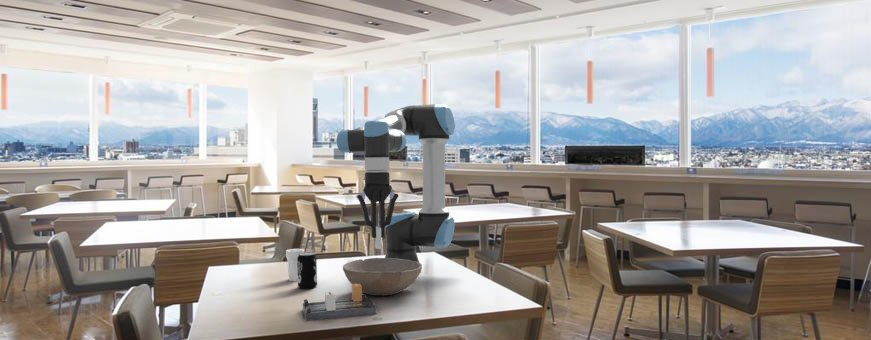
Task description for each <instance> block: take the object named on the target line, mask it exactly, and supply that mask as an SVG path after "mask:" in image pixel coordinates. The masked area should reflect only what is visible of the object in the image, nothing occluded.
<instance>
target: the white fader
mask: <svg viewBox="0 0 871 340" xmlns="http://www.w3.org/2000/svg"><path fill="white" fill-rule="evenodd" d="M324 301H325V308H326V310H327V311H333V310H336V303H335V301H336V294H335V291H327V292H326V291H325V292H324Z"/></svg>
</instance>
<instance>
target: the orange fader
mask: <svg viewBox="0 0 871 340" xmlns="http://www.w3.org/2000/svg"><path fill="white" fill-rule="evenodd" d="M362 295H363V292H362V286H361V285H360V284H351V299H352V300H353V301H362Z"/></svg>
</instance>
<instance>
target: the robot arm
mask: <svg viewBox="0 0 871 340" xmlns="http://www.w3.org/2000/svg"><path fill="white" fill-rule="evenodd" d="M455 125H456V124H455V118H454V114H453V112H452V110H451V108H450V107H449V106H448V105H447V104H443V103H442V104H441V103H440V104H439V103H437V104H436V103H435V104H422V105H421V104H418V105H417V104H416V105H414V104H413V105H408V106H407V105H406V106H403V107H401V108H398V109H397V108H396V109H394V110H393V111H390V112H388V113H386V114H385V116H384V117H382V118H380V119H377V120H368V121H365V122H364V125H363V126H360V127H357V128H355V129H349V128H348V129H345V130H344V129H343V130H340V131H339V132H338V133H337V136H336V146H337V149H338V151H340V152H341V153H344V154H345V153H346V154H347V153H349V154H351V153H364V170H365V172H364V188H363V191H362V192H360V193H359V194H357V195H356V196H355V197H356V199H357V201H358V203H359V204H360V209H361V212H362V213H361V214H362V217H363V220H364V224H365V225H366V226H367V227H370V229H371V230H370V231H371V232H370V233H371V238H373V239H374V248H375V249H376V250H382V238H385V251H386V252H385V256H384V258H399V259H405V260H411V261H417V262H419V263H420V260H419V257H418V254H417V247H422V248H423V247H424V248H425V247H426V248H436V249H437V248H447V247H449V245H450V244H451V242H452V240H453V238H454V234H455V228H456V227H455V226H456V225H455V219H454V218H453V217H452V216H450V210H448V209H447V207H446V144H447V143H448V142H449V141H450V136H452V135H453V134H454V132H455V130H456V129H455V127H456V126H455ZM407 136H411V137H412V136H418V141H419V142H420V143H421V145H422V207H421V208H420V210H418V215H417V213H416V212H415V211H408V212H399V213H394V209H395V205H396V201H397V200H398V198H399V194H398V193H395V192H393V191H392V188H391V184H390V172H388V171H389V170H390V153H397V152H401V151H403V149H405V147H406V145H407ZM366 197H367V199H368V200H369V202H370V203H369V204H370V216H369V213H368V212H369V211H368V208H367V203H366ZM388 197H389V202H388V207H387V212H386V213H385V203H386V200H387V198H388ZM377 202H378V214H379V215H378V219H379V222H378V223H379V224H378V225H379V226H377ZM393 213H394V214H393ZM385 214H386V215H385Z"/></svg>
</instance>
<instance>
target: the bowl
mask: <svg viewBox="0 0 871 340" xmlns="http://www.w3.org/2000/svg"><path fill="white" fill-rule="evenodd" d="M422 268H423V264H422V263H421V262H420V261H419V262H417V261H411V260H405V259H399V258H385V257H371V258H365V259H355V260H352V261H349V262H346V263H345V264H343V266H342V271H343V273H344V275H345V277H346V278H347V280H348V282H349V283H350V285H352V284H360V285H361V286H362V294H363V293H364V294H365V295H366V294H367V295H372V296H391V295H395V294H397V293H400V292H402V291H404V290H405V289H407V288H409V287H410V286H411V285H413V283H414V282H415V281H416V280H417V279H418V277H419V276H420V274H421V272H422Z"/></svg>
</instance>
